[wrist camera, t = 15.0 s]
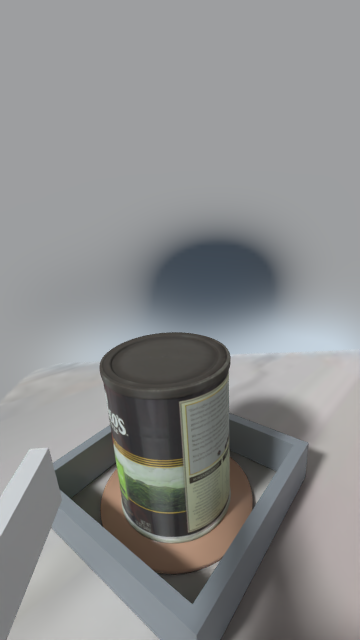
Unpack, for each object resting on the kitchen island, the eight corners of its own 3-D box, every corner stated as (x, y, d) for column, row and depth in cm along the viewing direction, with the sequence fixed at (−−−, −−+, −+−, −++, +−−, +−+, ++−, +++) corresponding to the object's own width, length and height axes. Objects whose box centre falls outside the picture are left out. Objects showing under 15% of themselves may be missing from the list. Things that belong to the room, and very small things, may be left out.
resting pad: (168, 428, 39) (168, 425, 39) (277, 480, 31) (277, 477, 31) (69, 509, 29) (68, 506, 29) (192, 620, 21) (191, 615, 21)
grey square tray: (166, 414, 42) (164, 388, 41) (305, 476, 31) (308, 442, 30) (37, 513, 29) (28, 479, 28) (199, 679, 18) (196, 635, 17)
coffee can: (124, 561, 24) (96, 400, 20) (119, 463, 34) (100, 340, 29) (251, 527, 26) (252, 374, 22) (212, 444, 36) (208, 325, 31)
